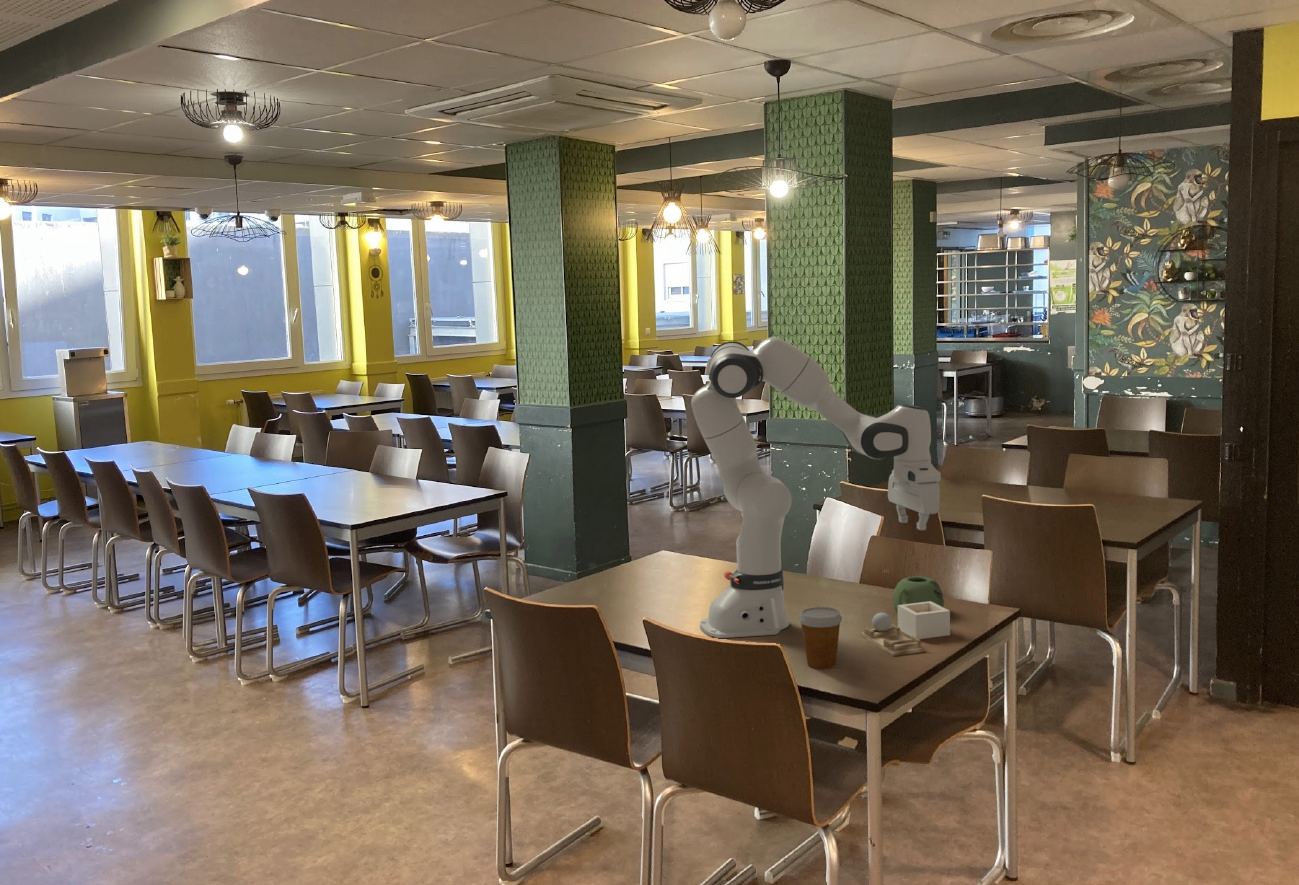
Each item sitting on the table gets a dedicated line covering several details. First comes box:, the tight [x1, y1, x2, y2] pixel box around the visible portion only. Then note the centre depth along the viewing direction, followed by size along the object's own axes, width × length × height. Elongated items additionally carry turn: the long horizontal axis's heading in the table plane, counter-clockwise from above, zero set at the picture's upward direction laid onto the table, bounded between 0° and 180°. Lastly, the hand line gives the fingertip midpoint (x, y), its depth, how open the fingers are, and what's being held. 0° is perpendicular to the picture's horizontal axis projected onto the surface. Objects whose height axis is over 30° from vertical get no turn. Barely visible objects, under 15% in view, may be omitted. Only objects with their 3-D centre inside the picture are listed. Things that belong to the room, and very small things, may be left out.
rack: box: [860, 623, 926, 657], centre depth 249 cm, size 8×16×2 cm, turn 15°
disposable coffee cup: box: [798, 606, 843, 670], centre depth 237 cm, size 10×10×12 cm
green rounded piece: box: [892, 575, 945, 612], centre depth 272 cm, size 16×13×9 cm
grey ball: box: [871, 612, 893, 632], centre depth 254 cm, size 4×4×4 cm
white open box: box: [897, 601, 951, 640], centre depth 257 cm, size 9×9×6 cm
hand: (912, 526), depth 261 cm, fingers open, 8 cm apart
